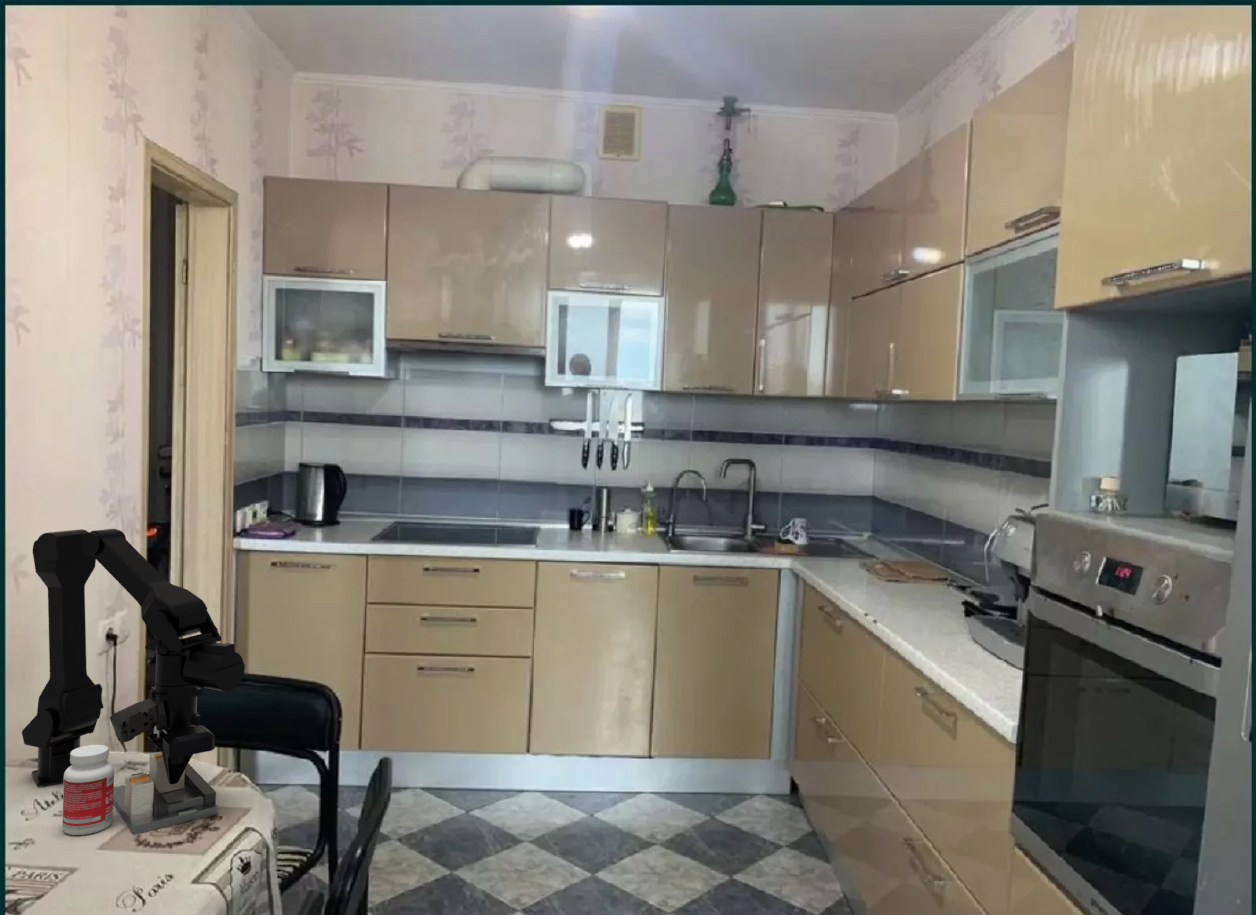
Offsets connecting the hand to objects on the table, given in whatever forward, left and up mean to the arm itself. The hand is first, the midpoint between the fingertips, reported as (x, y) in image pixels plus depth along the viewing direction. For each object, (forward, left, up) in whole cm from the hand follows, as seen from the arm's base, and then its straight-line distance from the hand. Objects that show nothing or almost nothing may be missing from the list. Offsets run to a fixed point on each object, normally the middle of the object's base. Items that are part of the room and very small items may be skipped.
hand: (173, 783), depth 134 cm
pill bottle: (+1, -11, -3) cm, 12 cm away
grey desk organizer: (0, -1, -3) cm, 4 cm away
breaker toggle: (-4, 0, -2) cm, 4 cm away
